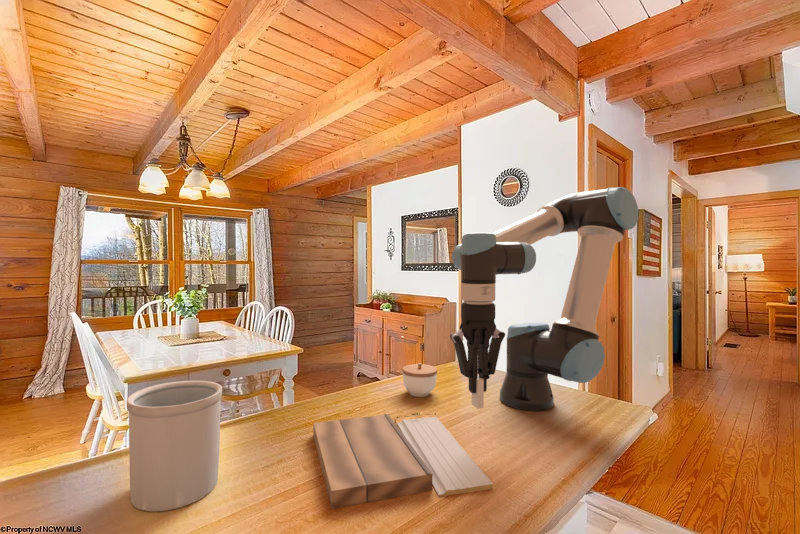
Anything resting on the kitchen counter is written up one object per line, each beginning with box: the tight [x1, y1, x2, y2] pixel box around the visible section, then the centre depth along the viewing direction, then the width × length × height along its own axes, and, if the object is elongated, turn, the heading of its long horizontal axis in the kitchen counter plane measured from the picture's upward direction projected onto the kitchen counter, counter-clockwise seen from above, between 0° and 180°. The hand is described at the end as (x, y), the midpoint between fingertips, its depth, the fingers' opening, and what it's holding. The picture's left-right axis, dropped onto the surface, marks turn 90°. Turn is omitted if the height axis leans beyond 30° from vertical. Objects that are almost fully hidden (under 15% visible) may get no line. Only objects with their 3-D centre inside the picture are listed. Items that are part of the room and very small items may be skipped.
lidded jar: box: [402, 362, 438, 398], centre depth 123 cm, size 11×11×9 cm
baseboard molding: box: [394, 412, 494, 498], centre depth 87 cm, size 31×3×12 cm
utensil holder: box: [126, 380, 223, 512], centre depth 71 cm, size 15×15×18 cm
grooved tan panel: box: [313, 413, 433, 509], centre depth 83 cm, size 18×28×3 cm, turn 18°
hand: (477, 406), depth 90 cm, fingers closed
